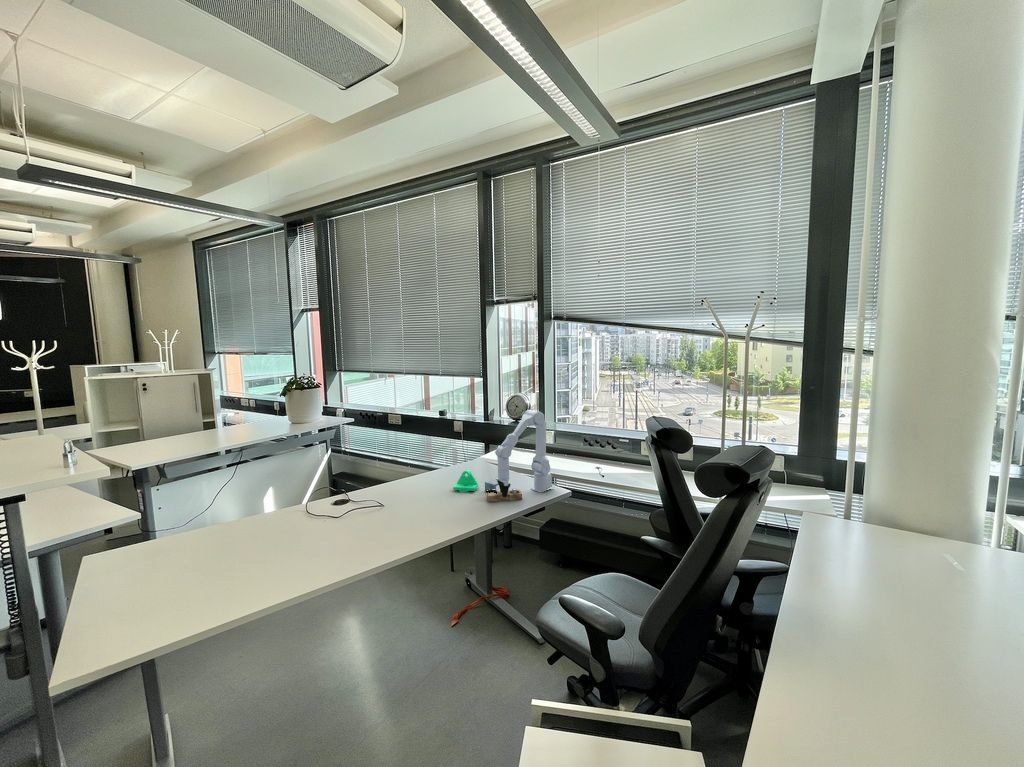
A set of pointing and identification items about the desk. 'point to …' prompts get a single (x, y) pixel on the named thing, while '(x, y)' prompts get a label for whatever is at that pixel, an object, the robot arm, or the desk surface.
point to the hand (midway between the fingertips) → (503, 495)
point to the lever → (499, 497)
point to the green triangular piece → (466, 482)
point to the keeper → (490, 484)
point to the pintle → (514, 491)
